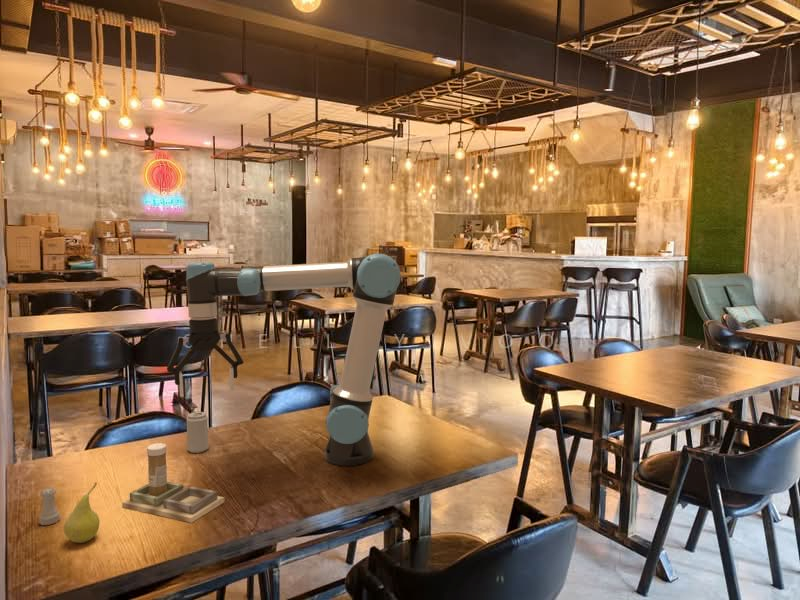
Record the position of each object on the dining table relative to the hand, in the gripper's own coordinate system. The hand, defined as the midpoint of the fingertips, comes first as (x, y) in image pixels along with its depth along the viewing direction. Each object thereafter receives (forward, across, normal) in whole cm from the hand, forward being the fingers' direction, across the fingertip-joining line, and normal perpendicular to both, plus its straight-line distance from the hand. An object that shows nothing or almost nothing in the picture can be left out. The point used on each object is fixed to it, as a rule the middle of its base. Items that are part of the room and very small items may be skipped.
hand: (207, 392), depth 159 cm
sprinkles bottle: (+23, +15, +10) cm, 29 cm away
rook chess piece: (+24, +39, +11) cm, 47 cm away
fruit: (+24, +31, +24) cm, 46 cm away
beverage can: (+24, +1, -24) cm, 34 cm away
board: (+24, +11, +14) cm, 30 cm away
